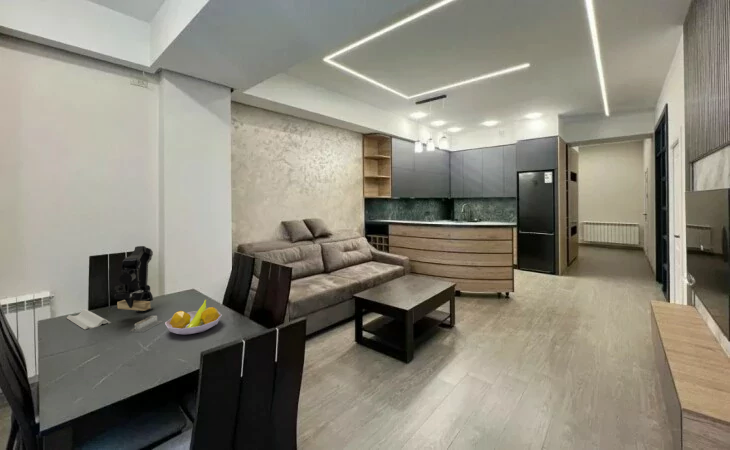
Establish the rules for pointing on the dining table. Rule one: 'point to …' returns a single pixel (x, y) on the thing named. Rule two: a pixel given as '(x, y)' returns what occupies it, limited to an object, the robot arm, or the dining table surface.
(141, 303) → the oak batten
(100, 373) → the dining table surface
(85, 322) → the crown molding
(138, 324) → the fulcrum stand
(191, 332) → the fruit bowl
